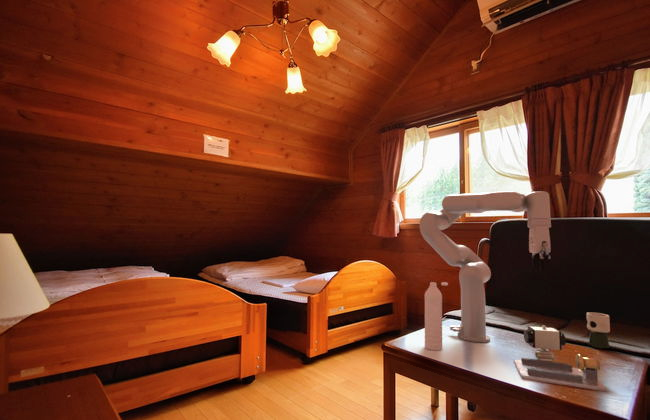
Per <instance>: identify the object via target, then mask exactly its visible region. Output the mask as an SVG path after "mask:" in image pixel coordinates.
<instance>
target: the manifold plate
mask: <svg viewBox="0 0 650 420" xmlns="http://www.w3.org/2000/svg"><path fill="white" fill-rule="evenodd" d="M574 359H575V360H574V361H575V365H576V367H573V365H572V364H571V363H566V362H565V363H564V362H558V361H553V362H551V361H543V360H540V359H537V358H536V359H534V358H528V357H527V358H526V357H521V358H520V359H513V364H514V365H515V368H516V370H517V372H518V374H519V376H520V378H521V380H522V379H523V380H529V381H535V382H536V381H537V382H542V383H549V384H554V385H555V384H556V385H562V386H569V387H575V388H581V389H589V390H595V391H601V392H607V386H605V385H604V384H603V383H602V382H601V381H600V380H599V379H598V371H600V370H601V363H600V360H599V358H592V357H583V355H582V354H581V353H576V354H575V358H574Z"/></svg>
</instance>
